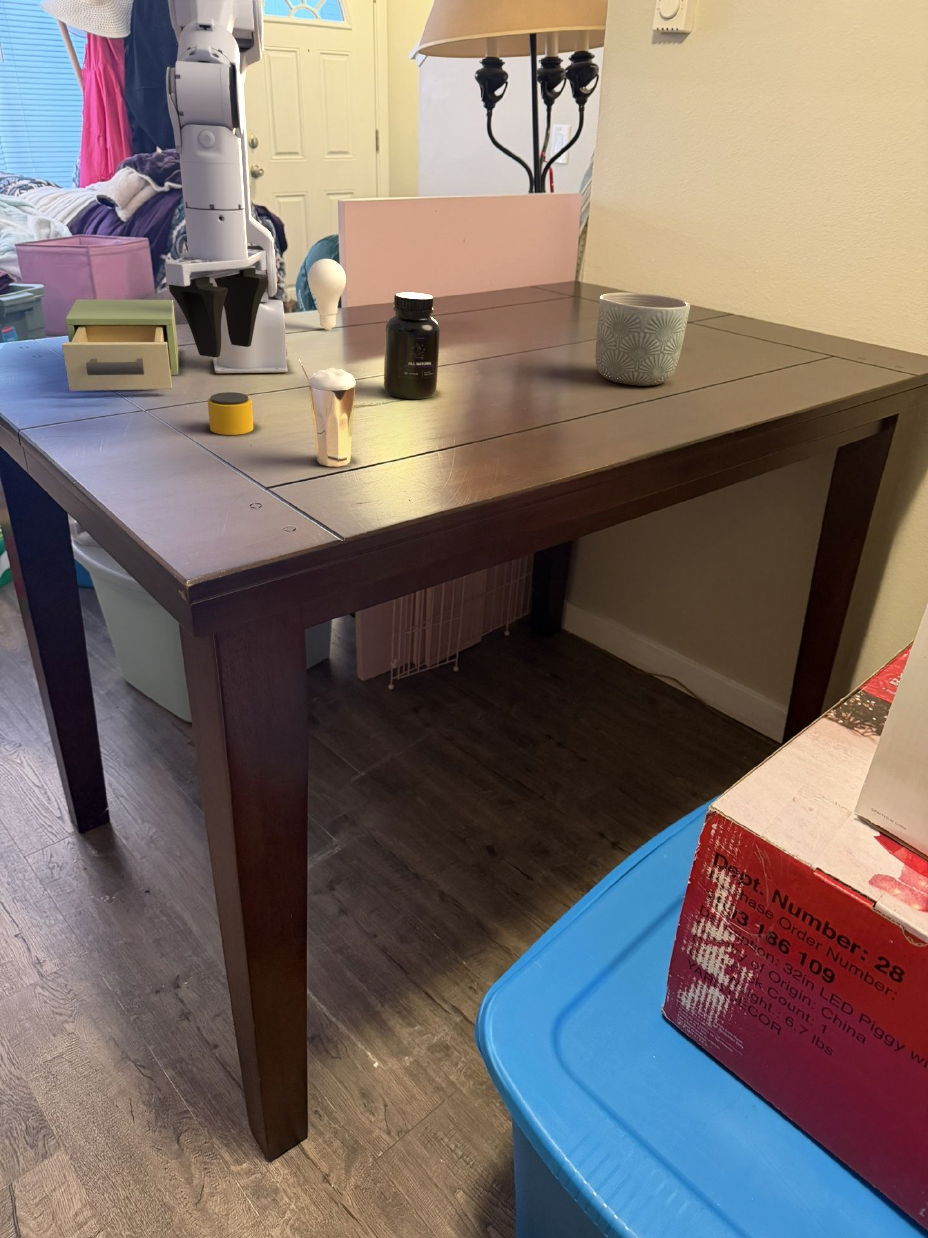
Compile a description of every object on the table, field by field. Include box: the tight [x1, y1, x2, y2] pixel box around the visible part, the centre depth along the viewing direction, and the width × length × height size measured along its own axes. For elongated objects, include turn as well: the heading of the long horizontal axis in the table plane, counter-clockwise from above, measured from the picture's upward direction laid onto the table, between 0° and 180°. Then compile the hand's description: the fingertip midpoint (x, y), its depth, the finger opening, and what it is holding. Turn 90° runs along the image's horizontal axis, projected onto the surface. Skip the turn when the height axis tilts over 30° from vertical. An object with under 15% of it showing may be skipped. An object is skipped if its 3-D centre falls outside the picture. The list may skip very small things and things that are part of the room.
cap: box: [207, 391, 254, 436], centre depth 94 cm, size 5×5×4 cm
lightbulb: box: [307, 258, 347, 331], centre depth 142 cm, size 6×6×11 cm
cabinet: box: [64, 298, 179, 376], centre depth 116 cm, size 14×13×7 cm
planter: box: [595, 292, 691, 387], centre depth 123 cm, size 12×12×11 cm
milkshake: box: [298, 359, 357, 468], centre depth 85 cm, size 4×5×10 cm
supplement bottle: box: [383, 292, 441, 400], centre depth 109 cm, size 7×7×12 cm
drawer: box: [61, 325, 173, 392], centre depth 105 cm, size 17×11×5 cm
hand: (225, 350), depth 91 cm, fingers open, 5 cm apart
